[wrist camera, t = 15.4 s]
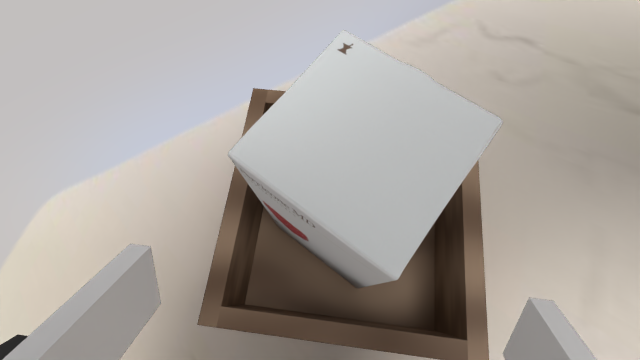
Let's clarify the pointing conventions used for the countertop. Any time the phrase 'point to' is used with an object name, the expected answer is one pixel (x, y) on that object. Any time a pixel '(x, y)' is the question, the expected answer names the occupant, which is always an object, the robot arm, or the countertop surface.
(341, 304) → the crate
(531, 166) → the countertop surface
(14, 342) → the robot arm
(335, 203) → the supplement box
